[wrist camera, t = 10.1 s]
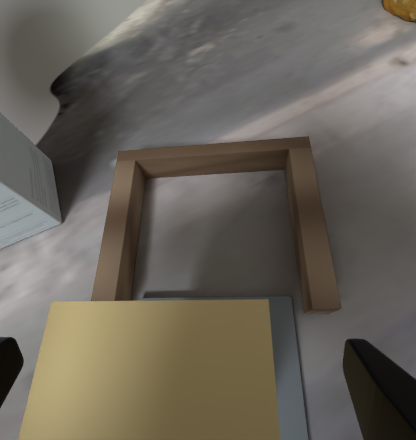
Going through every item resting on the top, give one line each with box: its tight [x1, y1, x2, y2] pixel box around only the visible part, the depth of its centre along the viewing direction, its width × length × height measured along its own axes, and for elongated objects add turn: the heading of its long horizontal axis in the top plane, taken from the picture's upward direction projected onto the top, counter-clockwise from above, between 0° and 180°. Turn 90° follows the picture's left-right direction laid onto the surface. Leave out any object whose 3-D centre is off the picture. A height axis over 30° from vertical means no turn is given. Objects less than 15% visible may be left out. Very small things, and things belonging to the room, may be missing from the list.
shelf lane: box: [91, 137, 341, 314], centre depth 19 cm, size 12×14×2 cm
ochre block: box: [18, 299, 280, 440], centre depth 10 cm, size 5×5×12 cm
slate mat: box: [138, 296, 308, 440], centre depth 16 cm, size 10×10×1 cm
